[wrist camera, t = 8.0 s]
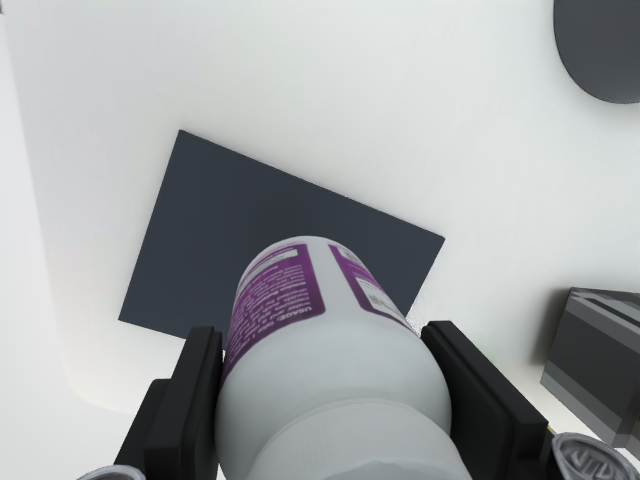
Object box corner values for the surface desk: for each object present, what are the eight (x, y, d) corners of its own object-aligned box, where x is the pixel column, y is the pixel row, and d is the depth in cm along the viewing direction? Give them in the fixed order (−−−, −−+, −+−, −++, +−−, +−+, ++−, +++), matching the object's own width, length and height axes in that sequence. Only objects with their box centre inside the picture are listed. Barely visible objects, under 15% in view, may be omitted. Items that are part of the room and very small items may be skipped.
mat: (120, 316, 27) (117, 320, 26) (181, 129, 24) (179, 129, 23) (366, 386, 31) (368, 391, 31) (442, 236, 28) (445, 238, 28)
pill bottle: (241, 362, 15) (200, 715, 6) (231, 236, 14) (154, 451, 4) (370, 350, 16) (512, 653, 7) (374, 229, 14) (563, 404, 5)
